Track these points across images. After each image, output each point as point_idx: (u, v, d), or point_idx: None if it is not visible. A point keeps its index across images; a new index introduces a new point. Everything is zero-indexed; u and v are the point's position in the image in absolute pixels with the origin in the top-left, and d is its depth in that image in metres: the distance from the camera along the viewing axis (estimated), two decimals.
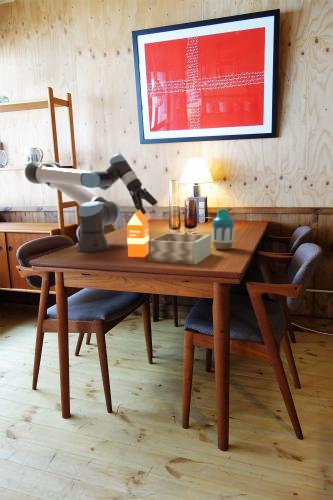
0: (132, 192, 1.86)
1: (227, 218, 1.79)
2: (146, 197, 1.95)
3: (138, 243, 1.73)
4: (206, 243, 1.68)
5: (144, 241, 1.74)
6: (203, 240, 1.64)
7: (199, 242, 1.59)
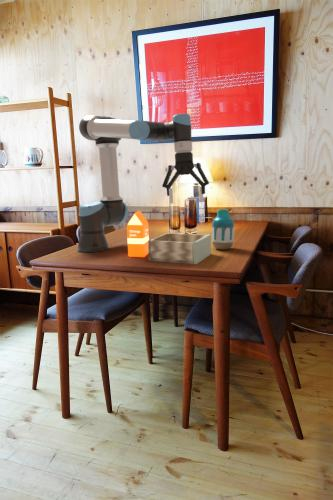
0: None
1: (227, 218, 1.79)
2: None
3: (138, 243, 1.73)
4: (206, 243, 1.68)
5: (144, 241, 1.74)
6: (203, 240, 1.64)
7: (199, 242, 1.59)
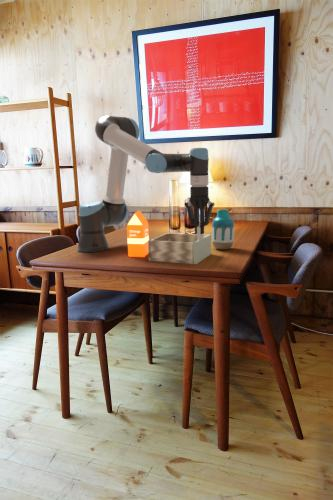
0: None
1: (227, 218, 1.79)
2: None
3: (138, 243, 1.73)
4: (206, 243, 1.68)
5: (144, 241, 1.74)
6: (203, 240, 1.64)
7: (199, 242, 1.59)
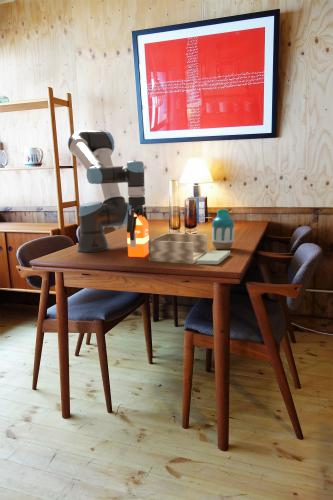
0: (130, 212, 1.69)
1: (227, 218, 1.79)
2: None
3: (138, 243, 1.73)
4: None
5: (144, 241, 1.74)
6: None
7: None
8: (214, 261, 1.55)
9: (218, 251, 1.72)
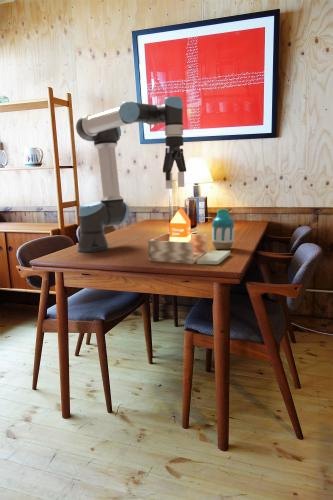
0: (169, 150, 1.56)
1: (227, 218, 1.79)
2: (178, 160, 1.66)
3: None
4: None
5: (187, 240, 1.65)
6: None
7: None
8: (214, 261, 1.55)
9: (218, 251, 1.72)
